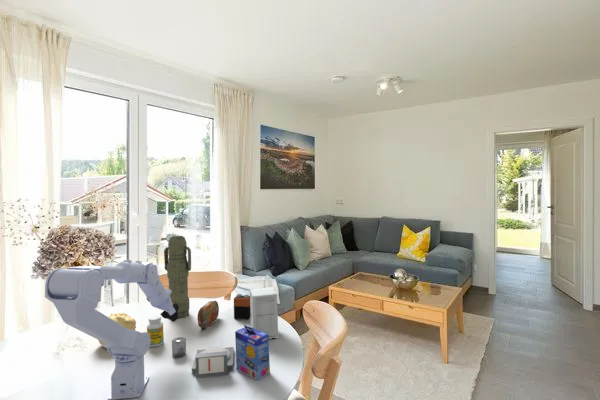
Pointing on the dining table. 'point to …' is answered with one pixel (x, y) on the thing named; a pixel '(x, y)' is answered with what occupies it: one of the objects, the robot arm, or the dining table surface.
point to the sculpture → (122, 322)
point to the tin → (208, 314)
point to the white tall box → (264, 311)
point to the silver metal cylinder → (179, 347)
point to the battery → (242, 307)
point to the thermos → (178, 272)
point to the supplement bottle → (155, 331)
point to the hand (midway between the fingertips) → (169, 313)
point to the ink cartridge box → (252, 352)
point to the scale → (213, 362)
